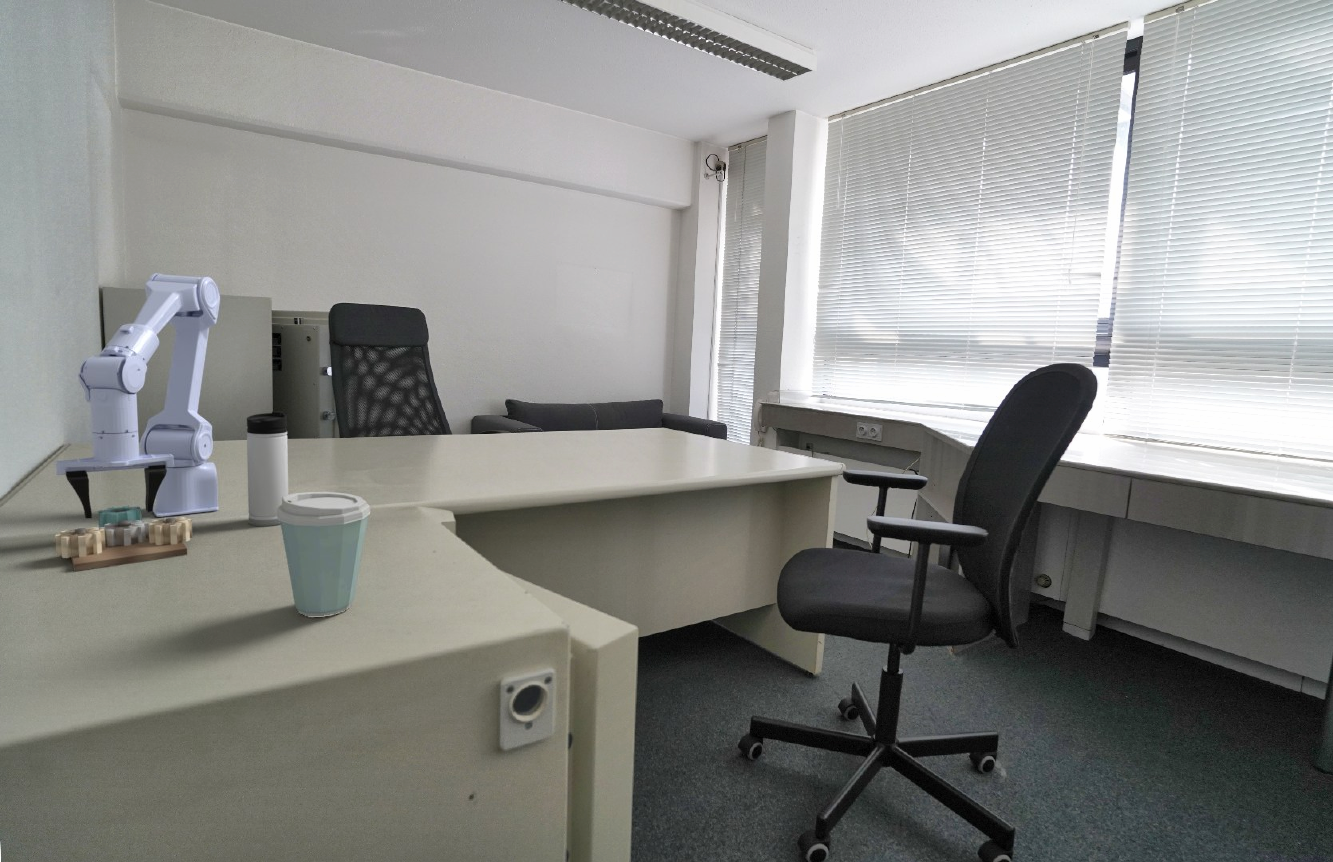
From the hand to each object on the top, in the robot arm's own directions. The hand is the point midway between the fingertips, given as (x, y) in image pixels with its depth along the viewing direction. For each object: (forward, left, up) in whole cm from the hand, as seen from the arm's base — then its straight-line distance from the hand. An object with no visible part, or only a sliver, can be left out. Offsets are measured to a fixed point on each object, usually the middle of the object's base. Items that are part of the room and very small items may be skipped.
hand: (119, 513), depth 108 cm
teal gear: (0, 0, -3) cm, 3 cm away
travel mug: (-21, +2, -4) cm, 22 cm away
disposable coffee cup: (-16, +48, -4) cm, 51 cm away
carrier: (0, +6, -4) cm, 7 cm away
